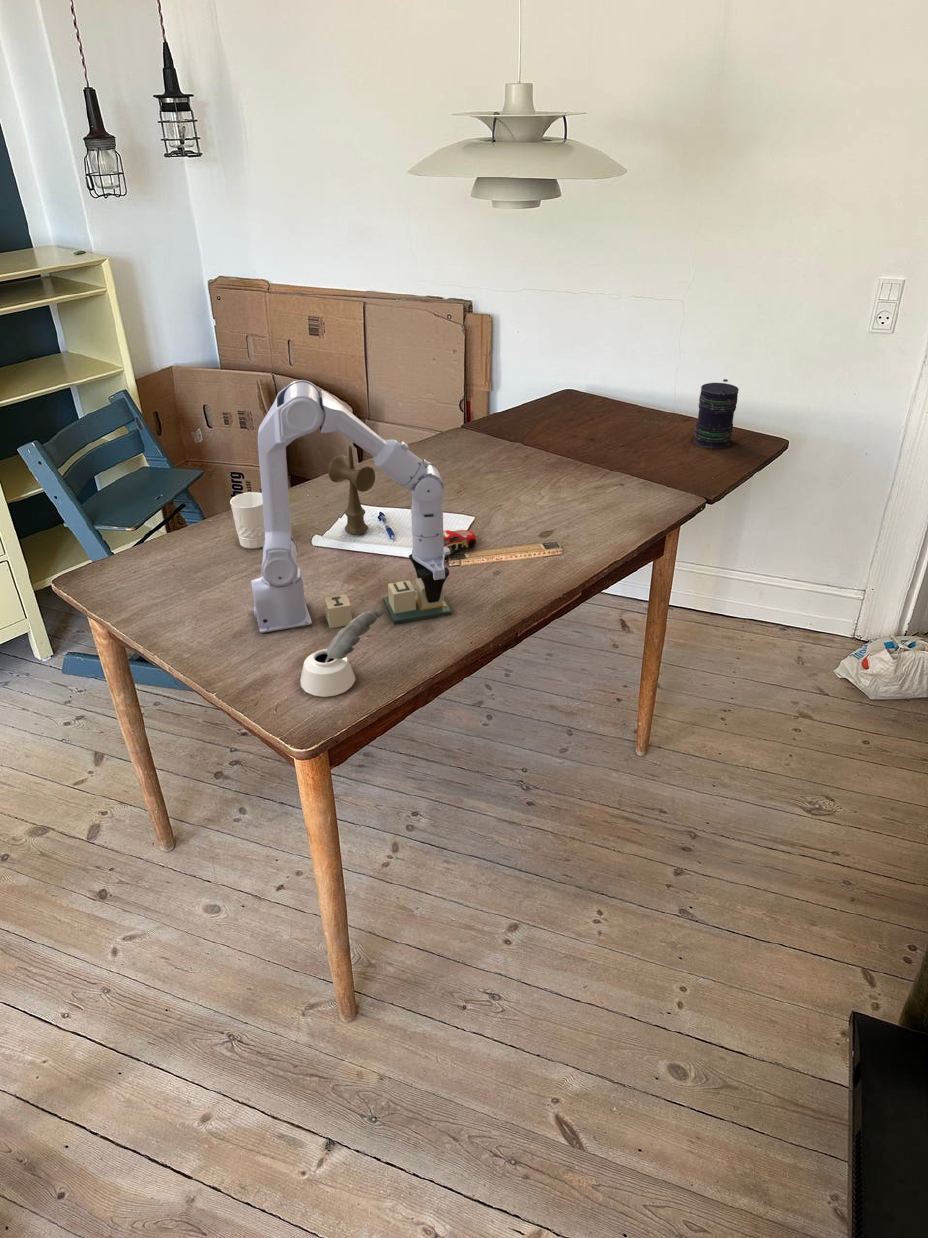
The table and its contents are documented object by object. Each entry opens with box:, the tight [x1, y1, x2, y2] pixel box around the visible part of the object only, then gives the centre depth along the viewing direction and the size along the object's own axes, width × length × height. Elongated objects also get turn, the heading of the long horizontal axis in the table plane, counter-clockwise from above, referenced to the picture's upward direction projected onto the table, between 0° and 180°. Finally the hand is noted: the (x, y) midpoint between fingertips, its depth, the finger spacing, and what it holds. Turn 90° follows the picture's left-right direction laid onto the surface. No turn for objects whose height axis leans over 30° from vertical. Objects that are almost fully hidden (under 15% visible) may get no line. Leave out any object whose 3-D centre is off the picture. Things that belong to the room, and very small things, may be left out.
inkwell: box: [299, 608, 389, 698], centre depth 148 cm, size 9×18×10 cm, turn 135°
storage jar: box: [693, 378, 740, 449], centre depth 237 cm, size 10×10×18 cm
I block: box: [323, 594, 353, 629], centre depth 163 cm, size 4×4×4 cm
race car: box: [443, 529, 477, 555], centre depth 188 cm, size 13×5×4 cm, turn 127°
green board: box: [382, 591, 452, 625], centre depth 168 cm, size 11×9×1 cm
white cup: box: [229, 491, 265, 549], centre depth 190 cm, size 8×8×10 cm
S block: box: [415, 578, 444, 608], centre depth 167 cm, size 4×4×4 cm
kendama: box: [327, 445, 376, 536], centre depth 191 cm, size 6×10×20 cm, turn 47°
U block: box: [387, 580, 416, 614], centre depth 166 cm, size 4×4×4 cm
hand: (429, 595), depth 168 cm, fingers closed on S block, 4 cm apart
